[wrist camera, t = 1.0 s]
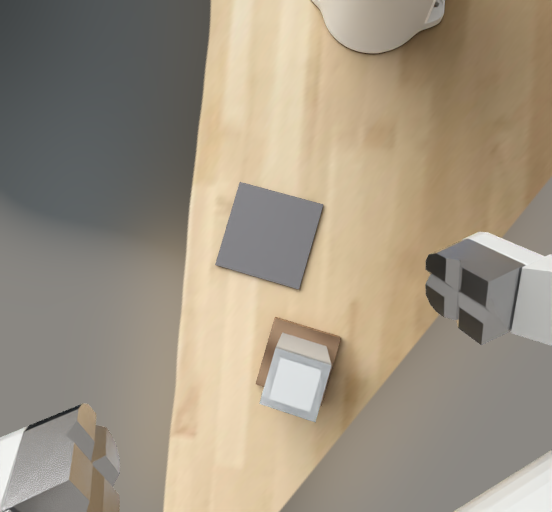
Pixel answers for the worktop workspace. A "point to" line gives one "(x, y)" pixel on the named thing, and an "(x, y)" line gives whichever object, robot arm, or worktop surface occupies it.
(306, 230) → the rubber mat
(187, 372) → the worktop surface
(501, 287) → the robot arm
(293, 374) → the sleeve lid
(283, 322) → the square wooden plinth
